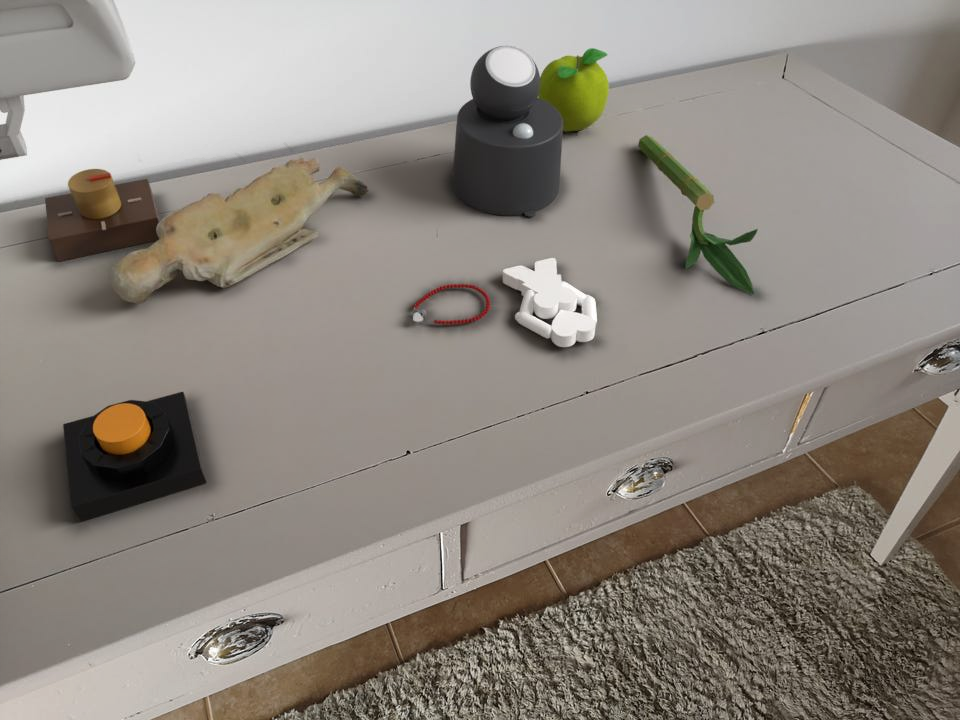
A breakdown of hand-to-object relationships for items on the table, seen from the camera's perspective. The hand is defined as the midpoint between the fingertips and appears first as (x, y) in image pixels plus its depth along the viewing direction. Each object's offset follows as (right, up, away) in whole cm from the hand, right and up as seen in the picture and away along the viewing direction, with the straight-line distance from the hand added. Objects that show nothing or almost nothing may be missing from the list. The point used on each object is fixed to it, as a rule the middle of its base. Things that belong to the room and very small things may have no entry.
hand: (4, 155), depth 54 cm
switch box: (+3, -23, +13) cm, 27 cm away
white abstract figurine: (+40, -9, +28) cm, 50 cm away
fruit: (+45, +18, +53) cm, 72 cm away
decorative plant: (+57, +3, +40) cm, 70 cm away
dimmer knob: (-9, +3, +32) cm, 33 cm away
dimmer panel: (-9, +1, +34) cm, 36 cm away
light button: (+4, -20, +10) cm, 23 cm away
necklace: (+30, -9, +28) cm, 41 cm away
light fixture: (+36, +8, +43) cm, 57 cm away
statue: (+8, -2, +33) cm, 34 cm away
